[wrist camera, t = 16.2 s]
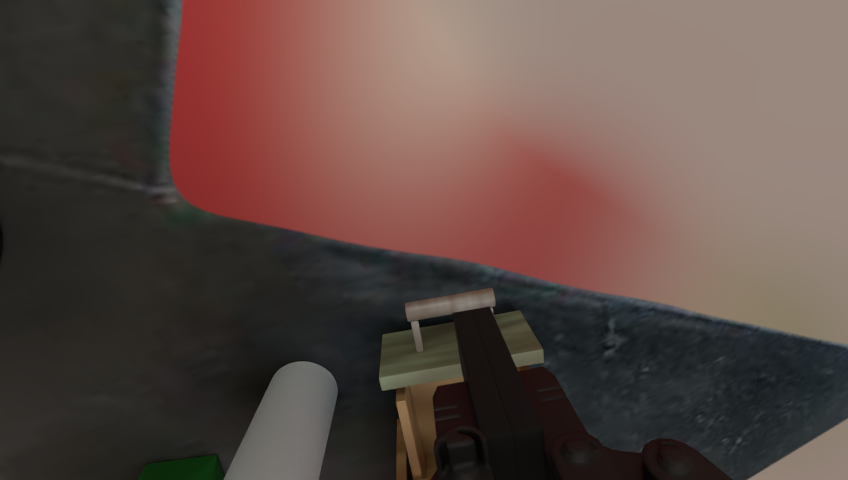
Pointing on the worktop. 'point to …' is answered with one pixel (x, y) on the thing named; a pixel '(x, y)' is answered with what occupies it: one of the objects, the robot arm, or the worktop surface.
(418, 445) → the drawer
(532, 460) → the robot arm
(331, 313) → the worktop surface
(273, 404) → the container
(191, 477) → the milk carton
